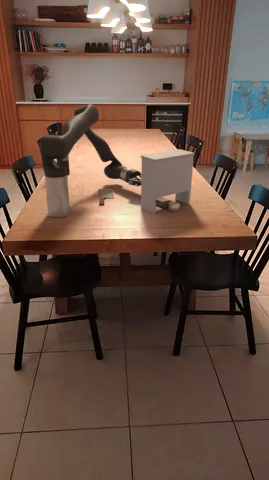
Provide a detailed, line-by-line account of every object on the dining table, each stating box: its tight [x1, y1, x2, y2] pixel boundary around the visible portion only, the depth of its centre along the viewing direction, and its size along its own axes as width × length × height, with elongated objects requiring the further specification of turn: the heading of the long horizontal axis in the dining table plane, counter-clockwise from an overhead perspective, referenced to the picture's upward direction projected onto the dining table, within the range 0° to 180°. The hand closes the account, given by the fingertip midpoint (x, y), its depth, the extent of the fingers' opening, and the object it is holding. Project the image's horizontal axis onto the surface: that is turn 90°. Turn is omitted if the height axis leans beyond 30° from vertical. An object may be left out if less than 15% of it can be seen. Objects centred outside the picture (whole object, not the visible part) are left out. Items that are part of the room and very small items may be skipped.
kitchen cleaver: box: [97, 188, 115, 206], centre depth 178 cm, size 24×1×10 cm
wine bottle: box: [55, 121, 71, 176], centre depth 209 cm, size 7×7×30 cm
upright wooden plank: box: [156, 196, 174, 210], centre depth 168 cm, size 18×4×14 cm, turn 36°
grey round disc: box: [167, 200, 181, 213], centre depth 162 cm, size 5×5×3 cm
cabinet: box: [140, 149, 196, 215], centre depth 162 cm, size 10×23×24 cm, turn 126°
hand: (151, 184), depth 172 cm, fingers closed on upright wooden plank, 3 cm apart
